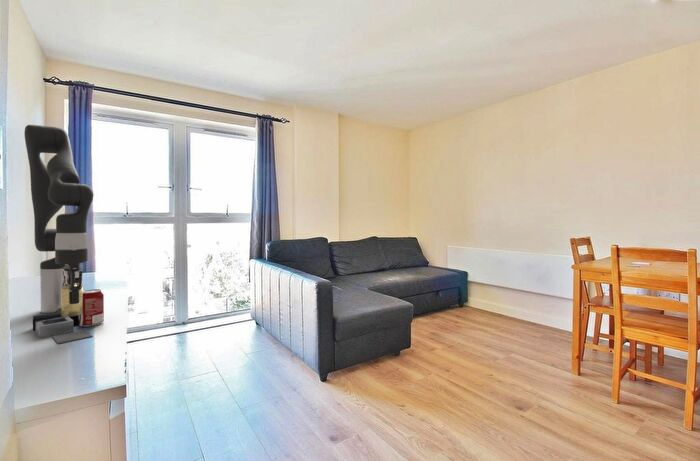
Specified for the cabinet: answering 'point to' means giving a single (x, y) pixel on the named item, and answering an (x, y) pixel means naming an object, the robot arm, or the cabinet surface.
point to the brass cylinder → (66, 307)
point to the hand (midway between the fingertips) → (72, 301)
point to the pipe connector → (52, 317)
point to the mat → (72, 337)
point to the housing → (54, 326)
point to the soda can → (92, 308)
